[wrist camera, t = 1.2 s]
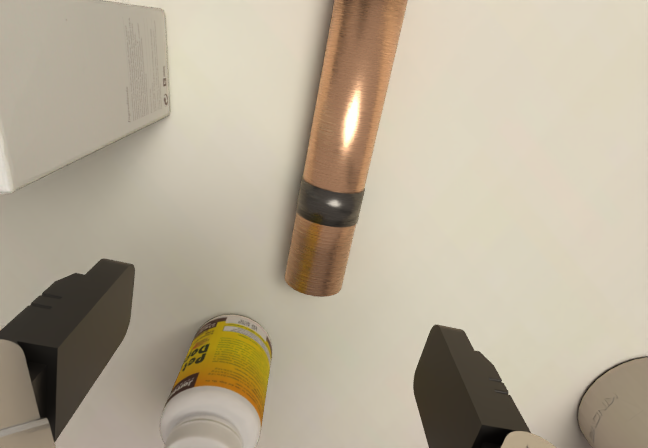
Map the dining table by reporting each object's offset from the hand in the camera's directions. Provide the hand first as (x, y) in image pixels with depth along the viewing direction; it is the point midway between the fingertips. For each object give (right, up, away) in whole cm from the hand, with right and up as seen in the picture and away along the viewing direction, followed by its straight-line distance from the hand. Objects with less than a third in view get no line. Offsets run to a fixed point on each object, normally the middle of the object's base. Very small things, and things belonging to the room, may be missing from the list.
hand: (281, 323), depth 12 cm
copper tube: (+2, +8, +15) cm, 17 cm away
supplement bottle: (-5, -6, +21) cm, 22 cm away
